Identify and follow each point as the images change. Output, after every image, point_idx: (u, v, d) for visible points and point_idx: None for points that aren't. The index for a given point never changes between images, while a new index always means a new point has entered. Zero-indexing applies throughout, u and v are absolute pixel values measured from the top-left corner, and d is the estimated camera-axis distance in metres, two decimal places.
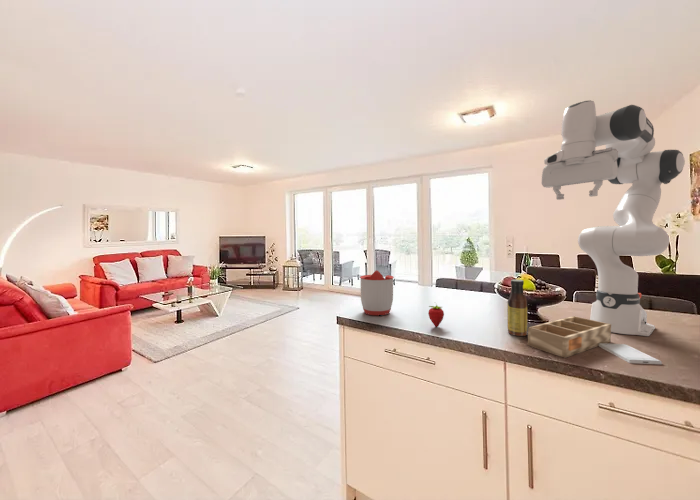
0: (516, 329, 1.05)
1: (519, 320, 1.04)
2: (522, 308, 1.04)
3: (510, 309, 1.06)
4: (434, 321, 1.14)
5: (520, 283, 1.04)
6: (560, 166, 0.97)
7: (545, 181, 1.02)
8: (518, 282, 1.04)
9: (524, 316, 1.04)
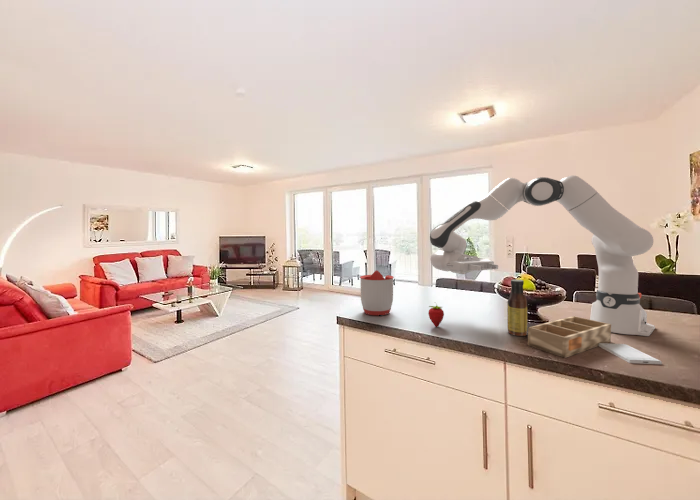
0: (516, 329, 1.05)
1: (519, 320, 1.04)
2: (522, 308, 1.04)
3: (510, 309, 1.06)
4: (434, 321, 1.14)
5: (520, 283, 1.04)
6: None
7: None
8: (518, 282, 1.04)
9: (524, 316, 1.04)
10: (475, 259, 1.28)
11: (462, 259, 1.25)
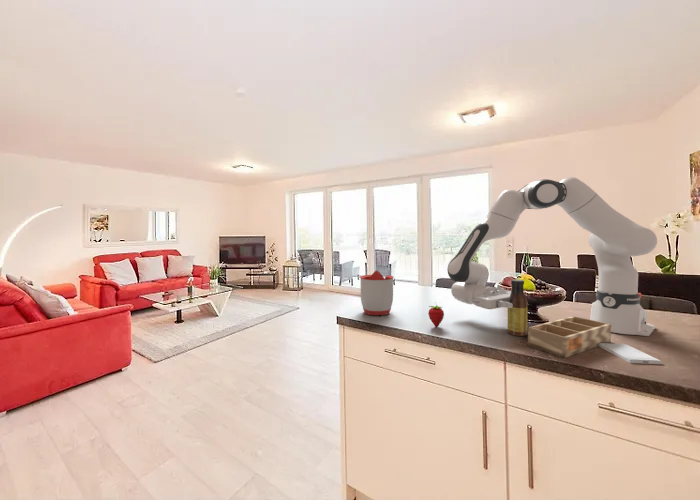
0: (516, 328, 1.05)
1: (519, 320, 1.04)
2: (522, 308, 1.04)
3: (510, 309, 1.06)
4: (434, 321, 1.14)
5: (520, 283, 1.04)
6: None
7: None
8: (518, 282, 1.04)
9: (524, 316, 1.04)
10: (502, 292, 1.17)
11: (488, 293, 1.15)
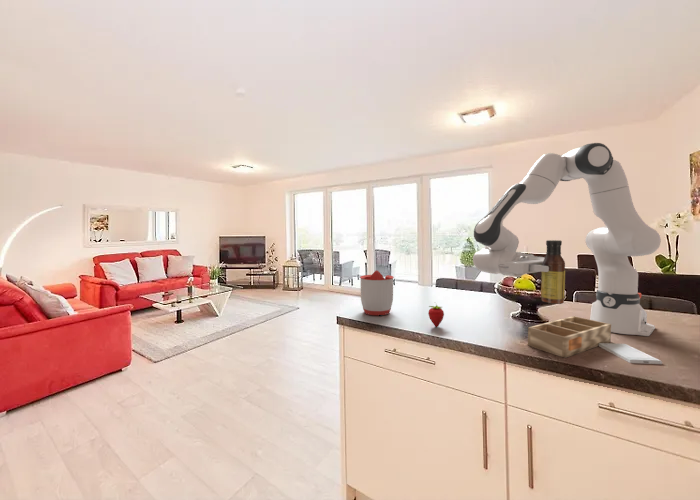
0: (552, 295, 0.91)
1: (556, 285, 0.91)
2: (560, 271, 0.90)
3: (545, 273, 0.93)
4: (434, 321, 1.14)
5: (558, 243, 0.91)
6: None
7: None
8: (556, 242, 0.91)
9: (562, 281, 0.91)
10: (532, 258, 1.04)
11: (517, 258, 1.02)
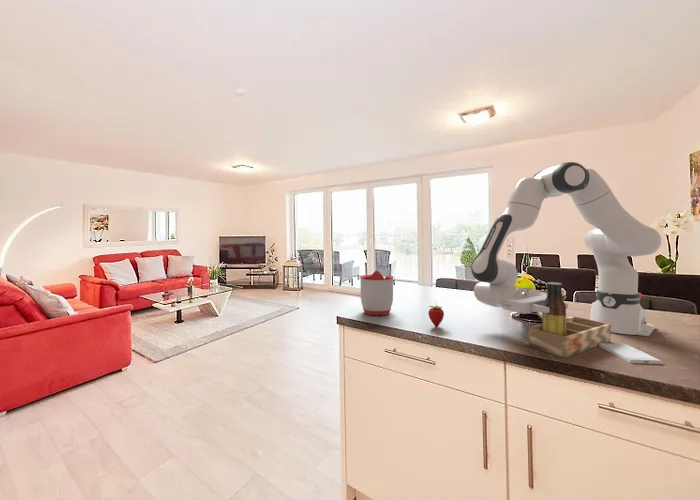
0: None
1: (558, 329, 0.90)
2: (561, 315, 0.90)
3: (546, 317, 0.92)
4: (434, 321, 1.14)
5: (559, 287, 0.90)
6: None
7: None
8: (556, 285, 0.90)
9: (563, 325, 0.90)
10: (534, 294, 1.04)
11: (519, 295, 1.01)
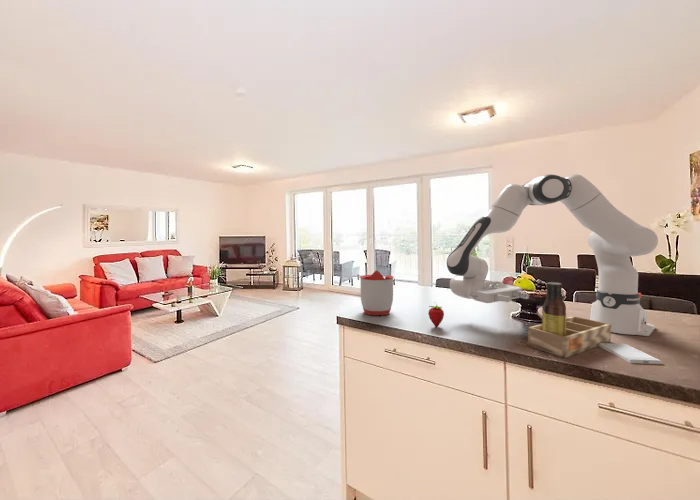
0: None
1: (558, 329, 0.90)
2: (561, 315, 0.90)
3: (546, 317, 0.92)
4: (434, 321, 1.14)
5: (558, 287, 0.90)
6: None
7: None
8: (556, 285, 0.91)
9: (563, 325, 0.90)
10: (501, 286, 1.15)
11: (487, 287, 1.13)
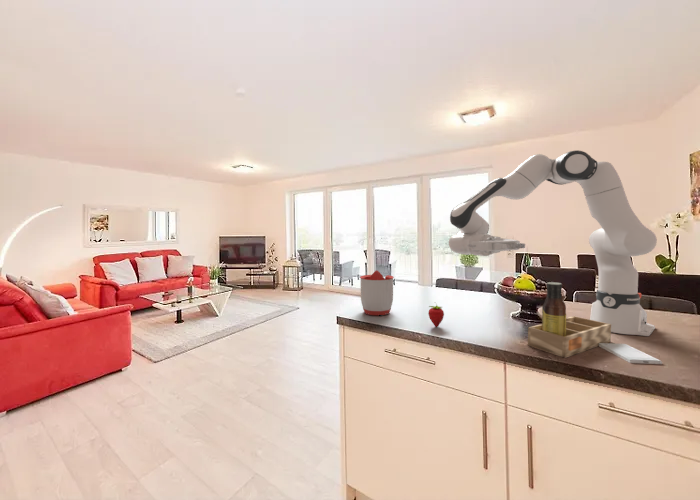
0: None
1: (558, 329, 0.90)
2: (561, 315, 0.90)
3: (546, 317, 0.92)
4: (434, 321, 1.14)
5: (558, 287, 0.90)
6: None
7: None
8: (556, 285, 0.91)
9: (563, 325, 0.90)
10: (498, 239, 1.18)
11: (484, 239, 1.15)
